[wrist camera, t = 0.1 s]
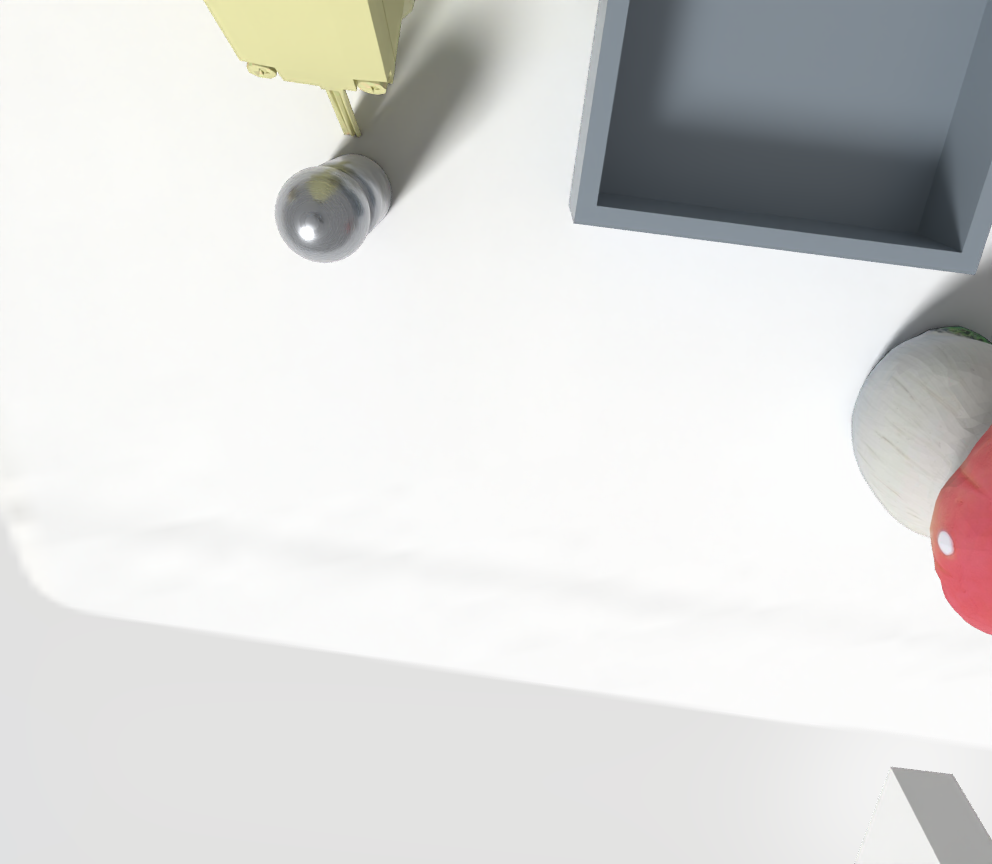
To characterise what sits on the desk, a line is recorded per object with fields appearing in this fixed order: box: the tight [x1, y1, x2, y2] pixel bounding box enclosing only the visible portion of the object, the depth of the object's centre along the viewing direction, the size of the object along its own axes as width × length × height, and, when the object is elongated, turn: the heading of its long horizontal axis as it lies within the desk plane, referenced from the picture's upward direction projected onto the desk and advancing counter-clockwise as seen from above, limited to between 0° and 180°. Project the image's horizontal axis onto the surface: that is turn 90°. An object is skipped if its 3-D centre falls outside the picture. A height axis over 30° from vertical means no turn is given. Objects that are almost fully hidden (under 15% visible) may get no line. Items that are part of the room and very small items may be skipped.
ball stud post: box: [275, 154, 392, 263], centre depth 32 cm, size 3×3×7 cm
